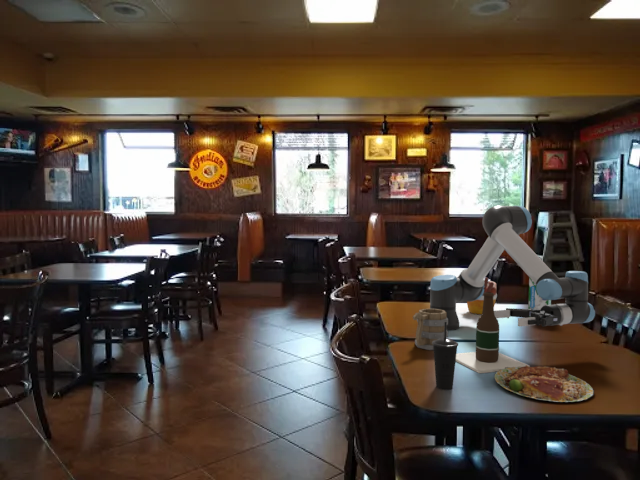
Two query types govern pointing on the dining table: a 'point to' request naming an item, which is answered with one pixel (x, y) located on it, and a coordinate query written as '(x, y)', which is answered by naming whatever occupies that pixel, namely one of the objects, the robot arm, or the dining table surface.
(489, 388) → the dining table surface
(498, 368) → the square board
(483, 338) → the beer bottle
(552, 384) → the rice dish
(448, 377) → the drinking cup
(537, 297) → the milk carton
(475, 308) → the bucket of meat
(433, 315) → the tankard
